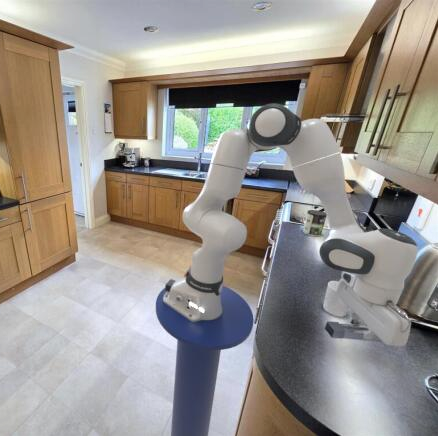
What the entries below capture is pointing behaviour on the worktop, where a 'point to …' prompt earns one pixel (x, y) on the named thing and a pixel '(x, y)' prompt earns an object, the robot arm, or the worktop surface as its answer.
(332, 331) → the tongs
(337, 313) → the white cup
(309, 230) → the coffee can
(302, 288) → the worktop surface
